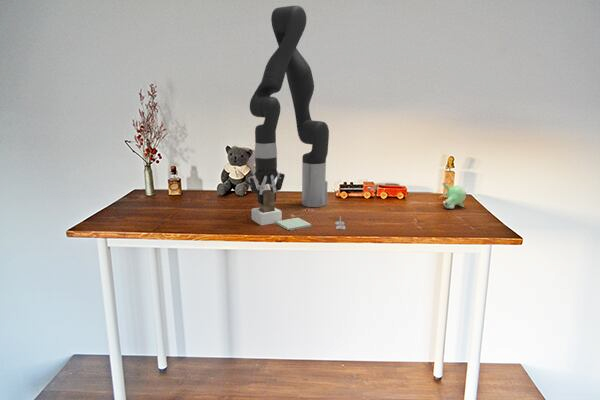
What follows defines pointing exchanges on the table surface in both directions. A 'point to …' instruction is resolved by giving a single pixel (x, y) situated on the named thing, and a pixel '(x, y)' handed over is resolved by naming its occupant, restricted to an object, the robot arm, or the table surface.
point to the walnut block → (267, 201)
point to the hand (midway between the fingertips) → (266, 203)
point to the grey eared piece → (340, 224)
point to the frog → (453, 196)
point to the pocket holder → (266, 216)
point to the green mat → (293, 224)
